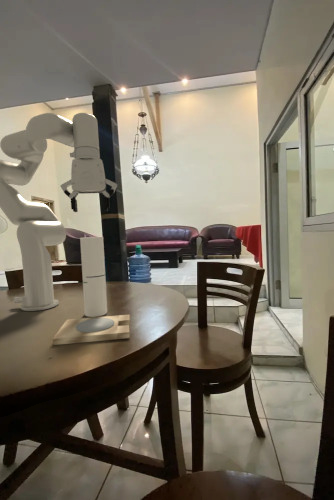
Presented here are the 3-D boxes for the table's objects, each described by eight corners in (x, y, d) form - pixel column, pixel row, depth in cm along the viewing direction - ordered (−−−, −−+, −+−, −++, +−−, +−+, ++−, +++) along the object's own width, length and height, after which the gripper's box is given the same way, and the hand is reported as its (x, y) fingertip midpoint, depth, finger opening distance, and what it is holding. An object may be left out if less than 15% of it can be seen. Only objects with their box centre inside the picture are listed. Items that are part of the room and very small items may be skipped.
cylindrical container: (101, 317, 81) (96, 237, 79) (80, 316, 83) (75, 237, 81) (110, 310, 88) (106, 236, 86) (91, 309, 90) (87, 237, 88)
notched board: (52, 345, 62) (52, 337, 62) (67, 324, 76) (66, 318, 75) (129, 338, 64) (129, 330, 64) (129, 319, 78) (129, 313, 78)
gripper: (55, 153, 77) (59, 211, 78) (114, 152, 79) (117, 209, 80) (61, 160, 84) (65, 213, 85) (116, 159, 87) (119, 211, 88)
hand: (91, 211), depth 83 cm, fingers open, 9 cm apart
